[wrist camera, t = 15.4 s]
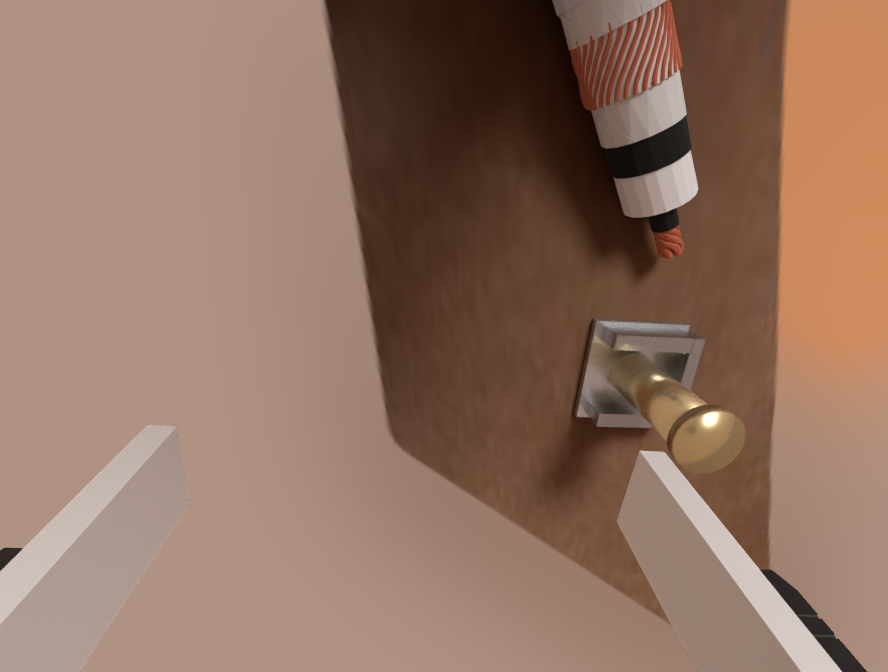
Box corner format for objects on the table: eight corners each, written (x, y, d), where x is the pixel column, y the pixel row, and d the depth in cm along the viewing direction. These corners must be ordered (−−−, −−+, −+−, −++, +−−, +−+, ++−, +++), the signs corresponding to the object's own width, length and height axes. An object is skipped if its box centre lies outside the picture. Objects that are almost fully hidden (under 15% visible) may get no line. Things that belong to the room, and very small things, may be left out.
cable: (615, 245, 47) (615, 294, 39) (493, -160, 32) (455, -206, 24) (724, 213, 42) (748, 262, 34) (640, -281, 27) (650, -386, 20)
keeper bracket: (593, 318, 45) (608, 329, 41) (685, 322, 46) (706, 334, 42) (573, 413, 48) (586, 430, 45) (659, 415, 49) (677, 432, 46)
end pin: (610, 347, 45) (686, 411, 33) (661, 348, 46) (754, 413, 34) (599, 395, 47) (667, 473, 35) (649, 396, 48) (733, 474, 35)
